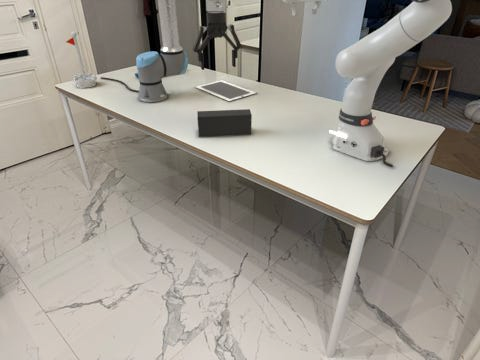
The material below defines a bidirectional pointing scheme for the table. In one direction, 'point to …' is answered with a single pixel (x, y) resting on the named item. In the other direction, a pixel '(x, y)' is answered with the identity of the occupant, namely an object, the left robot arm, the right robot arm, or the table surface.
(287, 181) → the table surface
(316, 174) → the table surface
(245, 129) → the box
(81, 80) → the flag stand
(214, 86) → the tablet
